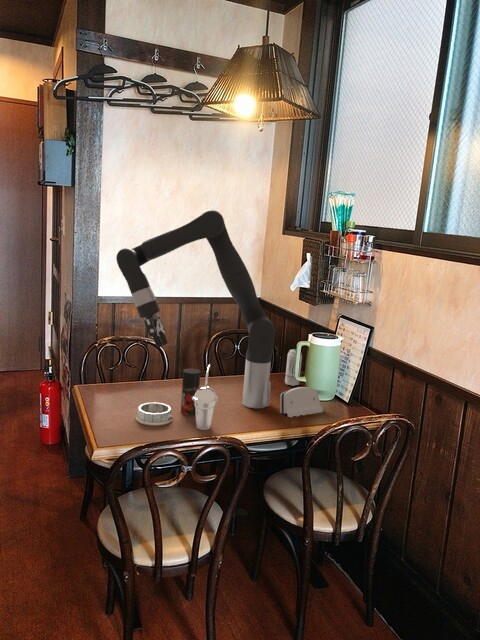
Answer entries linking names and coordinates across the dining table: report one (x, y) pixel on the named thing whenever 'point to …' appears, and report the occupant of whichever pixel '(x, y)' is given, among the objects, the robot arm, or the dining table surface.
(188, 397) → the deodorant
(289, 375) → the energy drink can
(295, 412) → the hinge
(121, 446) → the dining table surface
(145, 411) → the silver bowl
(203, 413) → the cup with straw
